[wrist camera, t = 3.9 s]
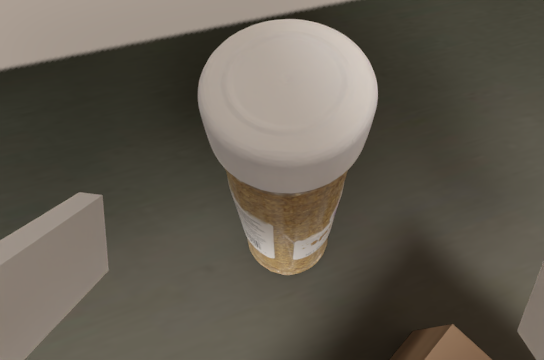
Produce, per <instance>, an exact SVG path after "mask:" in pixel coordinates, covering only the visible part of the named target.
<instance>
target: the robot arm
mask: <svg viewBox="0 0 544 360" xmlns="http://www.w3.org/2000/svg"><path fill="white" fill-rule="evenodd" d="M108 271H109V268H108V256H107V244H106V232H105V220H104V208H103V196H102V195H97V194H89V193H81V192H79V193H77V194H76V195H74V196H72V197H71V198H69V199H67V200H66V201H64V202H63V203H61V204H59V205H58V206H56V207H54V208H53V209H51V210H49V211H48V212H46V213H44V214H43V215H41V216H40V217H38V218H36V219H35V220H33V221H31V222H30V223H28V224H26V225H25V226H23V227H22V228H20V229H18V230H17V231H15V232H13V233H12V234H10V235H8V236H7V237H5V238H3V239H2V240H0V360H24V359H25V358H26V357H27V356H28V355H29V354H30V353H31V352H32V351H33V350H34V349H35V348H36V347H37V346H38V345H39V344H40V342H41V341H42V340H43V339H44V338H45V337H46V336H47V335H48V334H49V333H50V332H51V331H52V330H53V329H54V328H55V327H56V326H57V325H58V323H59V322H60V321H61V320H62V319H63V318H64V317H65V316H66V315H67V314H68V313H69V312H70V311H71V310H72V309H73V308H74V307H75V306H76V304H77V303H78V302H79V301H80V300H81V299H82V298H83V297H84V296H85V295H86V294H87V293H88V292H89V291H90V290H91V289H92V288H93V287H94V285H95V284H96V283H97V282H98V281H99V280H100V279H101V278H102V277H103V276H104V275H105V274H106V273H107V272H108ZM517 332H518V333H519V335H520V336H521V338H522V339H523V341H524V342H525V344H526V345H527V347H528V348H529V350H530V351H531V353H532V354H533V356H534V357H535V359H536V360H544V261H543V264H542V266H541V269H540V272H539V274H538V277H537V280H536V282H535V285H534V287H533V290H532V293H531V295H530V298H529V301H528V303H527V306H526V308H525V311H524V314H523V316H522V319H521V321H520V324H519V327H518V329H517Z"/></svg>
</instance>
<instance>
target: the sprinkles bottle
mask: <svg viewBox="0 0 544 360" xmlns="http://www.w3.org/2000/svg"><path fill="white" fill-rule="evenodd" d="M377 100H378V87H377V81H376V77H375V73H374V71H373V68H372V66H371V64H370V62H369V60H368V59H367V57H366V55H365V54H364V53H363V52H362V50H361V49H360V48H359V47H358V46H357V45H356V44H355V43H354V42H353V41H352V40H350V39H349V38H348V37H347V36H345V35H344V34H342V33H340V32H338V31H336V30H334V29H332V28H330V27H328V26H325V25H322V24H319V23H316V22H312V21H307V20H299V19H280V20H271V21H266V22H262V23H258V24H255V25H252V26H249V27H247V28H245V29H243V30H240V31H238V32H237V33H235V34H234V35H232V36H230V37H229V38H228V39H227V40H225V41H224V42H223V43H222V44H221V45H220V46H219V47H218V48H217V49H216V50H215V51H214V52H213V53H212V55H211V56H210V57H209V59H208V61H207V63H206V64H205V66H204V68H203V71H202V74H201V76H200V80H199V85H198V105H199V110H200V114H201V118H202V121H203V125H204V128H205V131H206V134H207V137H208V140H209V143H210V146H211V148H212V150H213V152H214V154H215V156H216V157H217V159H218V161H219V162H220V163H221V165H222V166H223V167H224V168H225V170H226V173H227V177H228V182H229V187H230V191H231V194H232V196H233V199H234V202H235V205H236V208H237V210H238V213H239V217H240V220H241V222H242V225H243V228H244V231H245V234H246V236H247V238H248V244H249V248H250V251H251V253H252V255H253V256H254V257H255V259H256V260H257V261H258V262H259V263H260V264H261V265H262V266H264V267H265V268H267V269H268V270H270V271H272V272H276V273H278V274H282V275H292V274H297V273H301V272H303V271H305V270H307V269H309V268H311V267H312V266H314V265H315V264H316V263H317V262H318V260H319V259H320V258H321V257H322V255H323V253H324V251H325V248H326V246H327V238H328V235H329V233H330V230H331V226H332V223H333V220H334V216H335V213H336V210H337V207H338V204H339V201H340V198H341V195H342V191H343V187H344V180H345V178H346V175H347V172H348V169H349V168H350V167H351V166H352V165H353V164H354V162H355V161H356V159H357V158H358V156H359V155H360V153H361V151H362V149H363V146H364V144H365V141H366V139H367V136H368V134H369V131H370V128H371V124H372V121H373V118H374V114H375V111H376V107H377Z"/></svg>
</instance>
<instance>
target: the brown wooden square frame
mask: <svg viewBox="0 0 544 360" xmlns="http://www.w3.org/2000/svg"><path fill="white" fill-rule="evenodd" d="M390 360H492V359H491V358H490V357H489V356H488V355H486V354H485V353H484V352H483V351H482V350H481V349H480V348H479V347H478V346H476V345H475V344H474V343H473V342H472V341H471V340H470V339H469V338H468V337H467V336H465V335H464V334H463V333H462V332H461V331H460V330H459V329H458V328H457V327H455V326H454V325H453V324H450V325H444V326H438V327H433V328H427V329H421V330H415V331H413V332H412V333H411V334H410V335H409V337H408V338H407V339H406V340H405V341H404V343H403V344H402V345H401V346H400V347H399V349H398V350H397V351H396V352H395V353H394V355H393V356H392V357H391V358H390Z"/></svg>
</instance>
